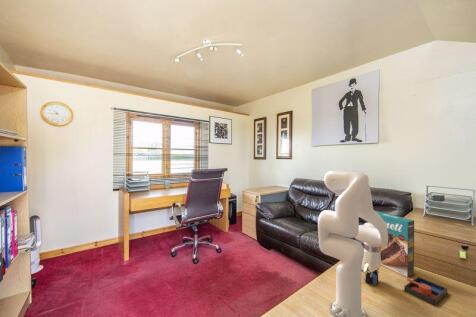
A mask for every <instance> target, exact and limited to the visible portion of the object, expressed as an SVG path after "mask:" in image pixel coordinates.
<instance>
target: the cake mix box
mask: <svg viewBox="0 0 476 317" xmlns="http://www.w3.org/2000/svg"><path fill="white" fill-rule="evenodd" d="M374 211H375V212H376V213H378V214H379V215H380V216H381V218H382V219H383V220H384V221H385V223H386V225H387V231H388V243H387V245H386V246H381V252H380V255H381V266H383V267H385V268H387V269H390V270H392V271H393V272H395V273H398V274H400V275H402V276H404V277H406V278H409V277H411V276H414V275H415V220H413V219H410V218H406V217H401V216H398V215H393V214H391V213H386V212H382V211H378V210H374ZM367 223H369V222H367Z"/></svg>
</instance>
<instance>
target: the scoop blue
mask: <svg viewBox="0 0 476 317" xmlns="http://www.w3.org/2000/svg"><path fill="white" fill-rule="evenodd" d="M363 270H364V269H362V272H361V273H363ZM368 273H369V274H370V272H369V271H368ZM372 277H373V285H372V286H376V285H377V284H378V282H377V275H376V274H374V273H372Z"/></svg>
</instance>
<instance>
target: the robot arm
mask: <svg viewBox="0 0 476 317" xmlns="http://www.w3.org/2000/svg"><path fill="white" fill-rule="evenodd" d="M323 181H324V182H323V183H324V185H325V187H326V188H327V189H328V190H329V191H331V192H332V193H333V194H335V195H337V196H338V197H337V198H336V199H335V201H334V210H332V209H331V210H330V209H324V210H321V212H320V213H319V215H318V218H317V234H318V235H317V236H318V247H319V250H320V252H321V253H323V254H324V255H326V256H329V257H332V258H335V259H336V260H339V261H341V262H340V263H339V264H338V265H337V266H336V269H335V301H333V302H332V305H331V307H332V308H331V309H330V310H329V313H330V315H331V316H336V317H367V314H366V312H365V310H364V309H363V308H362V273H363V274H364V275H365V283H366V284H369V285H370V286H374V285H373V277H372V273H374V274H376V275H377V283H378V282H379V270H380V269H381V267H382V265H381V255H380V252H381V246H386V245H387V243H388V231H387V225H386V223H385V221H384V220H383V219H382V218H381V216H380V215H379V214H378V213H376V212H375V211H376V210H375V209H374V205H373V204H374V203H373V197H372V191H371V186H370V184H369V183H370V182H369V181H370V179H369V176H368V175H367V174H366V173H363V172H360V171H350V170H347V171H346V170H329V171H327V172H326V173H325V175H324V177H323ZM359 218H360V219H362V220H363V221H365V223H363V224H360V222H359V220H360V219H359ZM368 222H369V223H368ZM353 238H354V239H353ZM355 239H356V240H355ZM360 242H363V244H362V243H360ZM362 270H363V272H362ZM368 272H370V274H369V273H368Z"/></svg>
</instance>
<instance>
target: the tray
mask: <svg viewBox="0 0 476 317" xmlns="http://www.w3.org/2000/svg"><path fill="white" fill-rule="evenodd" d="M411 280H412V281H415V282H417V283H419V284H426V285H428V286H430V287H431V298H430V297H428V296H426V295H424V294H422V293H420V292H419V286H418V285H416V284H414V283H412V282H408V283H407V284H406V285H404V287H403V288H404V292H405V293H407V294H410V296H411V295H412V296H413V297H416V298H418V299H420V300H422V301H424V302H426V303H428V304H430V305H432V306H436V305H437V304H438V303H439V302H440V301H441V300H442V299H444V297H446V295H447V294H448V288H447V287H445V286H442V285H440V284H437V283H436V282H433V281H430V280H428V279H425V278H424V277H423V278H422V277H420V276H417V277H416V278H414V279H411Z"/></svg>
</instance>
